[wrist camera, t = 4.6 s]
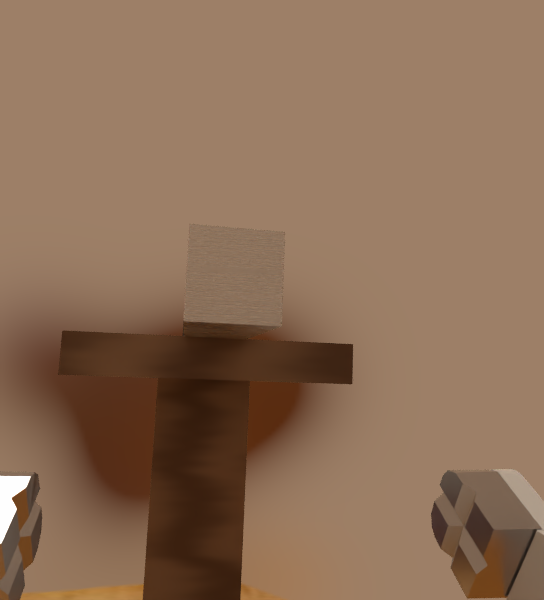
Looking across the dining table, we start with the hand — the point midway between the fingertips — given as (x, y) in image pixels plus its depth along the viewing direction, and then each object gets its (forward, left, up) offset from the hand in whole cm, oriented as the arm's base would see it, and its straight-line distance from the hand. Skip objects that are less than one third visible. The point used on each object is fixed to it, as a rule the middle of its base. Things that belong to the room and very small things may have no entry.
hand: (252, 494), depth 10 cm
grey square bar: (0, -16, +4) cm, 16 cm away
